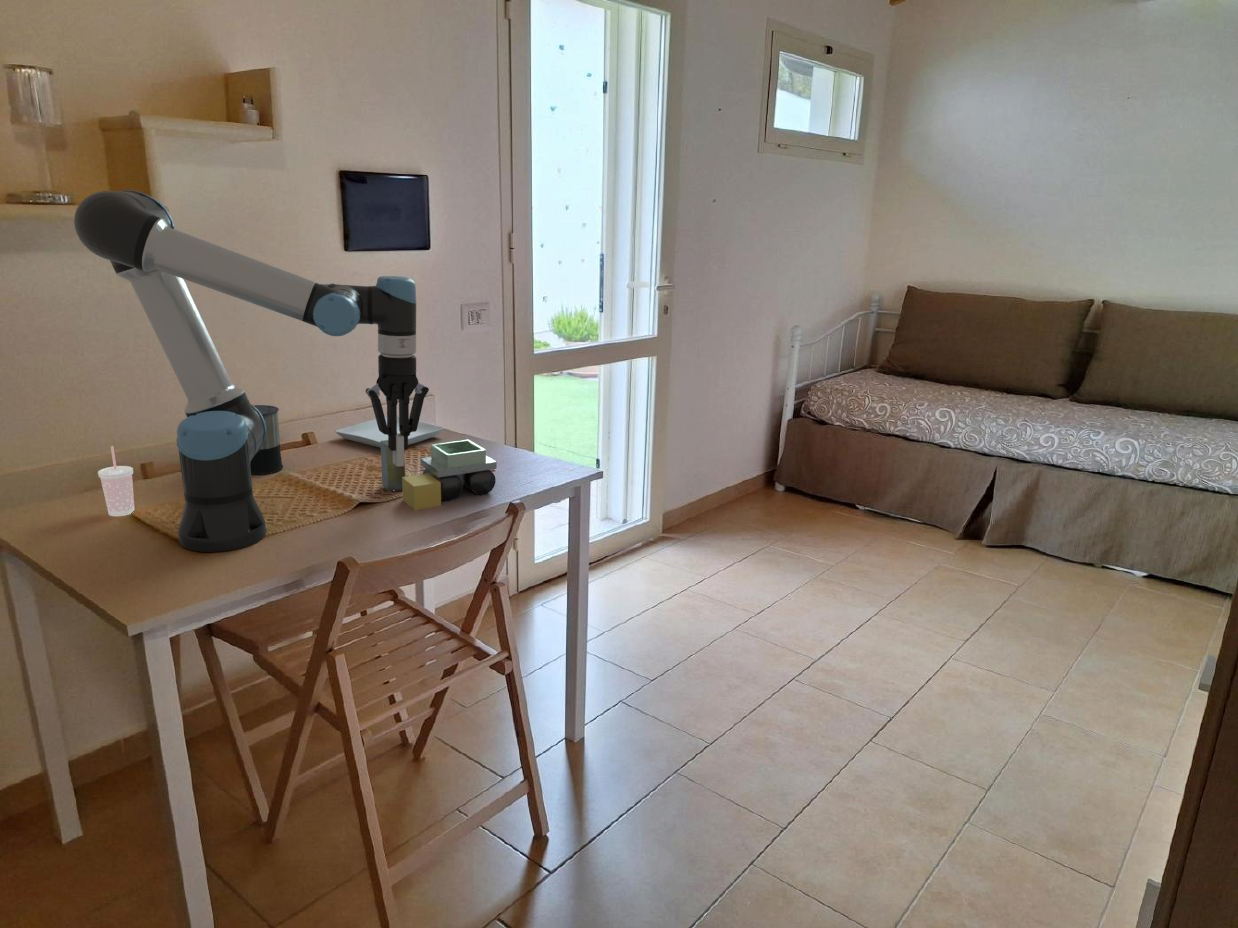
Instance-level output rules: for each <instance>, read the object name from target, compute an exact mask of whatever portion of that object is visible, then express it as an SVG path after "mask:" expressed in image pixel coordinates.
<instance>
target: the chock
mask: <svg viewBox="0 0 1238 928" xmlns="http://www.w3.org/2000/svg"><path fill="white" fill-rule="evenodd" d="M402 489H403V490H402V501H403V502H404V503H405V504H407V505H408V506H409V507H410V508H411V509H413V510H414V511H419V510H424V509H430V508H434V507H435V508H436V507H437V508H438V507H441V506H442V498H441V482H439V481H438V480H437V479H435V478H434V477H433V476H431V475H430V474H429V473H426V474H423V473H422V474H421V473H419V474H414V475H408V476H406V475H405V477H402Z"/></svg>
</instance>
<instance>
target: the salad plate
mask: <svg viewBox="0 0 1238 928" xmlns="http://www.w3.org/2000/svg"><path fill="white" fill-rule="evenodd" d="M385 420H386V424H387V415H386V416H385ZM444 430H445V427H443V426H439V425H435V424H432V423H427V422H424V421H420V420H419V423H418V427H417V430H416V431H415V432H411V433H410V435H409V436H408V446H411V445H414V444H416V443H417V444H418V443H420V442H423V441H426V440H428V439H431V438H434V437H436V436H438V435H440V434H441V433H442V432H443V431H444ZM335 433H336V434H337V435H338V436H340V437H341V438H343V439H345V440H349V441H353V442H356V443H360V444H363V445H368V446H370V447H371V446H372V447H375V448H380V449H381V446H380V441H384V440H388V435H385V434H383V433H382V432H380V431H379V428H378V425H377V421H376V418H375V419H370V420H368V421H364V422H360V423H356V424H353V425H350V426H345V427H342V428H339V429H336V430H335ZM397 433H400V431H399V415H397Z"/></svg>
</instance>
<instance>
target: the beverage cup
mask: <svg viewBox="0 0 1238 928" xmlns="http://www.w3.org/2000/svg"><path fill="white" fill-rule="evenodd" d="M110 451H111V457H112V458H111V459H112V464H113V465H112V466H110V467H109V466H108V467H104V468H102V469H100V470H98V471H97V475H98V478H100V482H101V487H102V490H103V495H104V500H105V503H106V509H107V512H108V515H109V516H111V517H123V516H128V515H132V514H133V513H134V512H133V511H134V510H135V500H134V495H135V494H134V482H133V474H134V468H133V466H132V467H131V466H129V465H117V462H116V455H115V448H114V445H111V446H110ZM132 512H133V513H132ZM131 513H132V514H131Z"/></svg>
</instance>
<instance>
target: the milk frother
mask: <svg viewBox="0 0 1238 928" xmlns="http://www.w3.org/2000/svg"><path fill="white" fill-rule="evenodd" d="M252 405H253V404H252ZM253 406H254V407H256V408H257V409H258V410H259V412H260V413H261V414H262V416H263V418H264V421H265V425H266V434H265V439H264V442H263V444H262V447H261V448H260V450H259V451H258V452H257V453H256V454H255V456H254V457H253V459H252V460H251V462H250V469H251V475H269V474H274V473H277V472H280V471H282V470H283V468H284V465H283V461H282V453H281V442H280V441H281V439H280V425H279V410H280V409H279V407H277V406H274V405H266V404H254V405H253Z"/></svg>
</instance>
